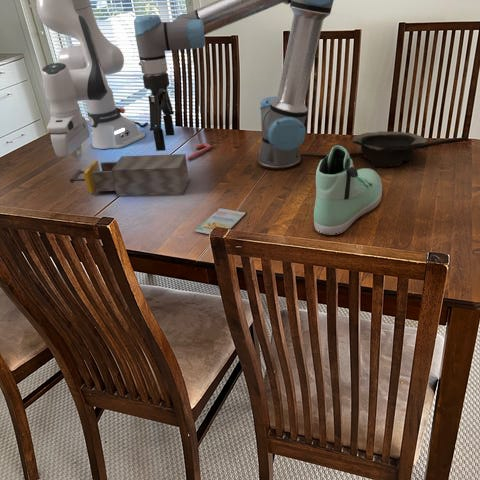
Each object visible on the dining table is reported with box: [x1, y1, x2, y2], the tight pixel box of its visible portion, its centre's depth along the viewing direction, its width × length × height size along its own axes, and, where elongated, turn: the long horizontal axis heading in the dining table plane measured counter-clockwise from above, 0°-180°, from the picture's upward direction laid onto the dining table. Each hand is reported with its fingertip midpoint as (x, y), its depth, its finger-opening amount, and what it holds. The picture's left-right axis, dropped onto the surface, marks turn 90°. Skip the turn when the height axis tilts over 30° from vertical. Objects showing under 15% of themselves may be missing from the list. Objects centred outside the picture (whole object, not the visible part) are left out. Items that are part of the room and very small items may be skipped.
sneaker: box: [313, 145, 383, 236], centre depth 133 cm, size 14×35×20 cm, turn 152°
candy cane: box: [186, 143, 212, 161], centre depth 185 cm, size 6×15×2 cm, turn 145°
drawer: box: [69, 160, 118, 195], centre depth 160 cm, size 27×10×7 cm, turn 85°
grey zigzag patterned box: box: [111, 153, 190, 197], centre depth 158 cm, size 22×12×9 cm, turn 85°
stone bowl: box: [351, 131, 429, 168], centre depth 166 cm, size 25×25×9 cm
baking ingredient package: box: [194, 207, 246, 235], centre depth 137 cm, size 9×1×15 cm
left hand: (78, 160), depth 158 cm, fingers closed
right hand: (165, 142), depth 152 cm, fingers open, 13 cm apart
